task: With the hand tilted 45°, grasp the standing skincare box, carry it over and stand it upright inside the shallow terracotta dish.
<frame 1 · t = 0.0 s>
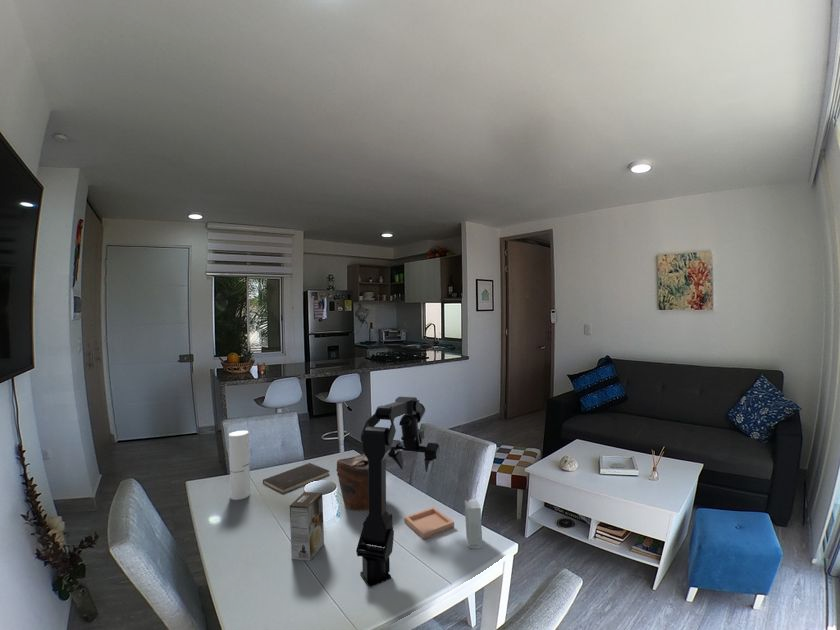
hand: (414, 469, 139), 15 cm above the table, tool pointing down, fingers open, 9 cm apart
brown flower pot: (362, 502, 148), on the table
cylindrical container: (240, 496, 156), on the table
hardcover book: (297, 480, 171), on the table
coffee box: (308, 551, 119), on the table
skincare box: (473, 543, 121), on the table
terracotta dish: (429, 525, 131), on the table
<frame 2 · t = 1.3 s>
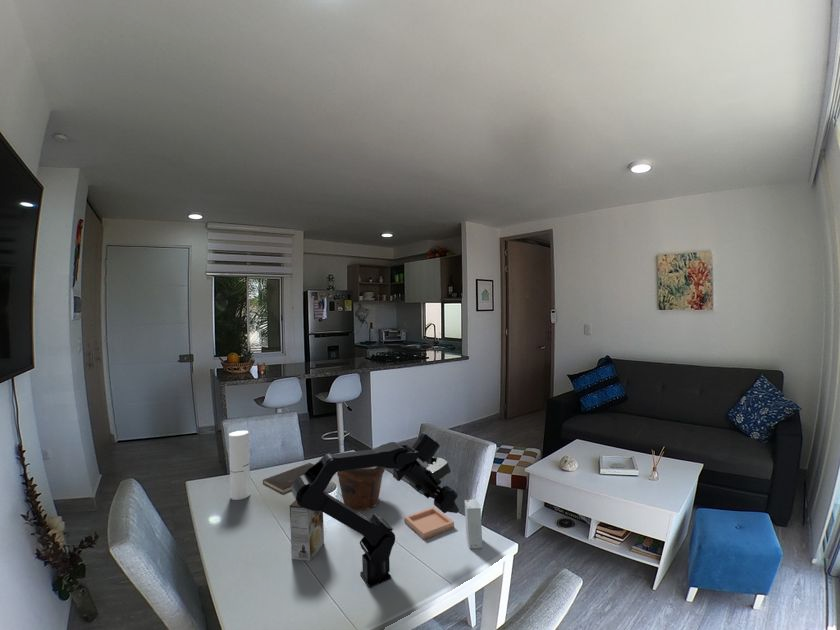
hand: (449, 504, 118), 13 cm above the table, tool tilted 45°, fingers open, 9 cm apart
nothing on the table moved.
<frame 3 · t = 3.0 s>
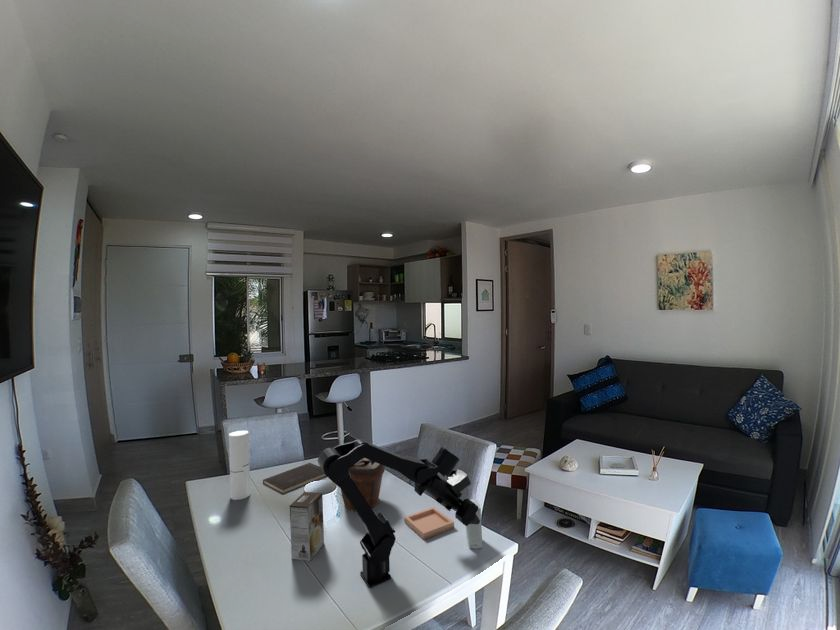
hand: (470, 515, 120), 9 cm above the table, tool tilted 45°, fingers open, 9 cm apart
nothing on the table moved.
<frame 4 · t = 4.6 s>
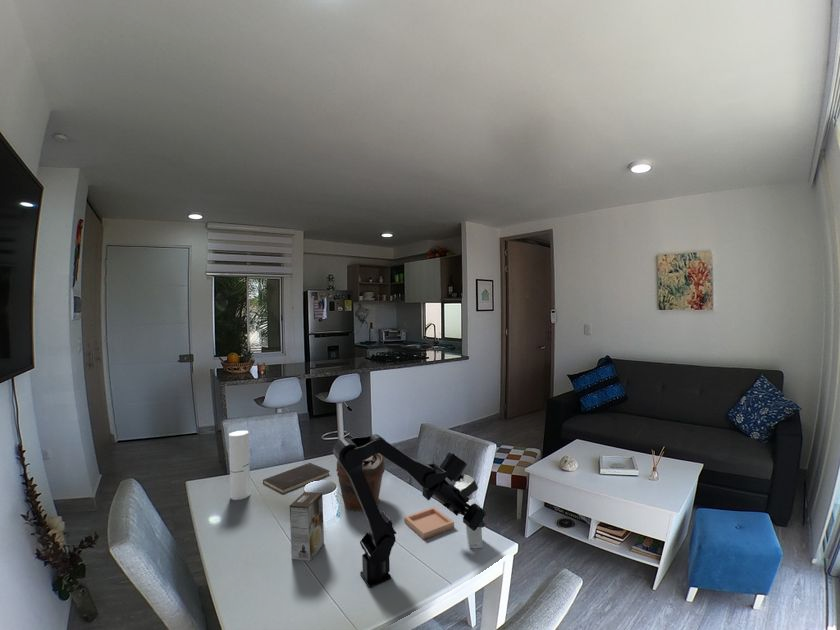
hand: (477, 520, 121), 7 cm above the table, tool tilted 45°, fingers closed on skincare box, 7 cm apart
skincare box: (473, 543, 121), on the table, touching gripper
everything else where it was.
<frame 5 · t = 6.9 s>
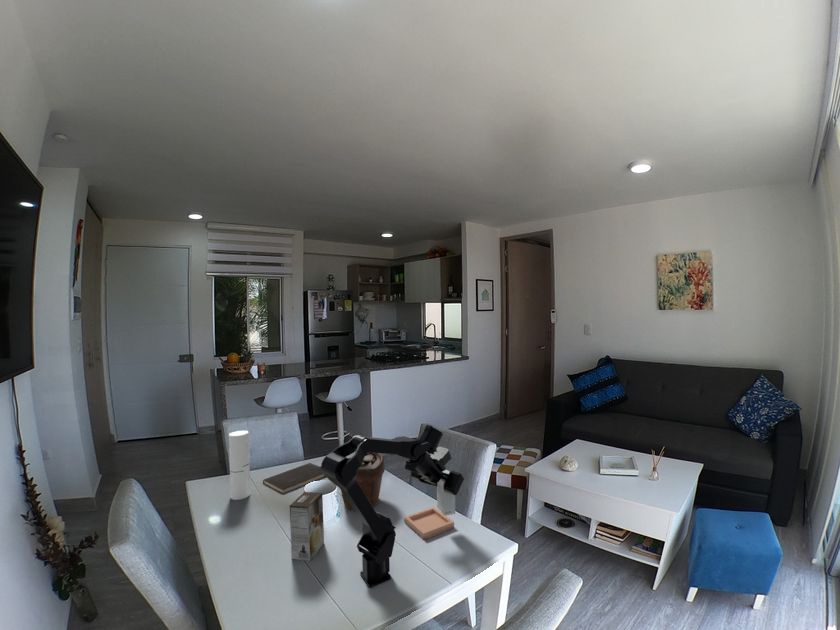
hand: (448, 488, 129), 13 cm above the table, tool tilted 45°, fingers closed on skincare box, 7 cm apart
skincare box: (445, 510, 128), point 6 cm above the table, touching gripper
everything else where it was.
when the fingers open (8 cm above the table, at t = 9.5 s): skincare box stays where it is, resting on terracotta dish.
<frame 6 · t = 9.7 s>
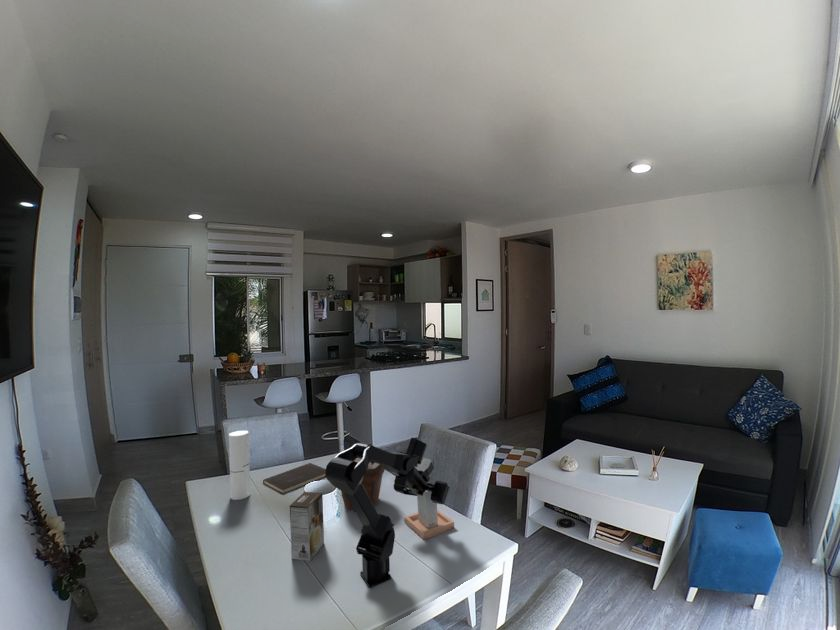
hand: (430, 497, 132), 9 cm above the table, tool tilted 45°, fingers open, 9 cm apart
skincare box: (427, 523, 131), point 1 cm above the table, touching terracotta dish
everything else where it was.
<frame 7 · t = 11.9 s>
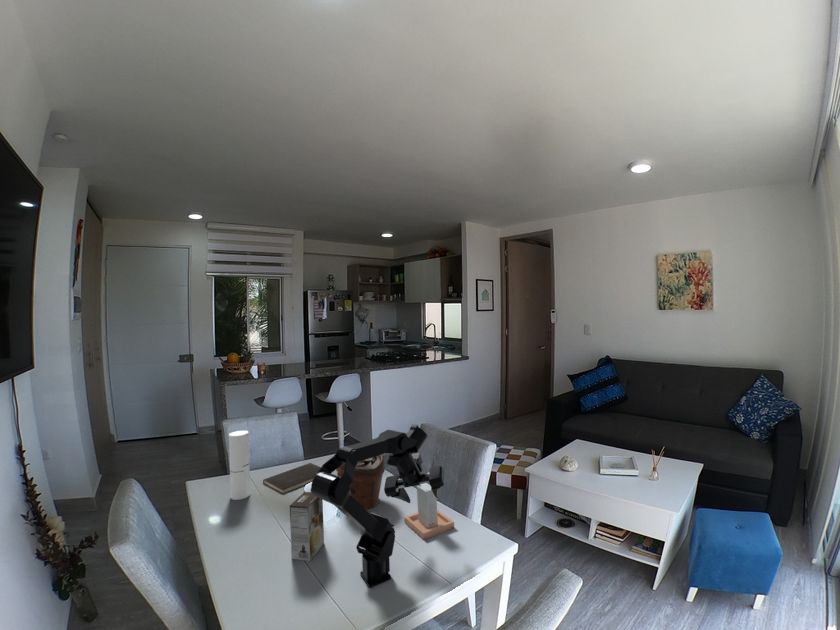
hand: (423, 499, 124), 12 cm above the table, tool tilted 30°, fingers open, 9 cm apart
nothing on the table moved.
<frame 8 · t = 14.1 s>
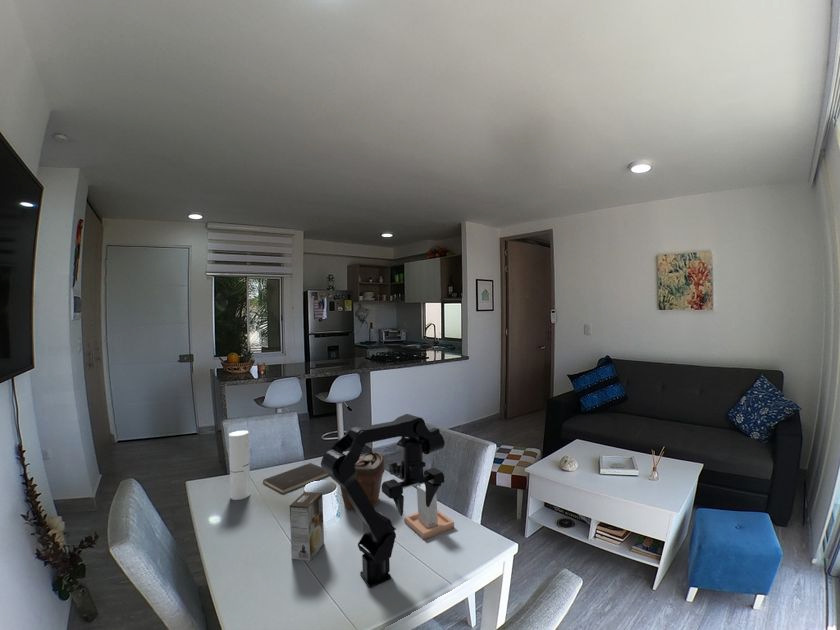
hand: (414, 511, 115), 13 cm above the table, tool pointing down, fingers open, 9 cm apart
nothing on the table moved.
at the end: skincare box inside the target area on the terracotta dish (0.4 cm from its centre), point 0.6 cm above the terracotta dish's base; skincare box tilted 0°; the gripper is holding nothing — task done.
